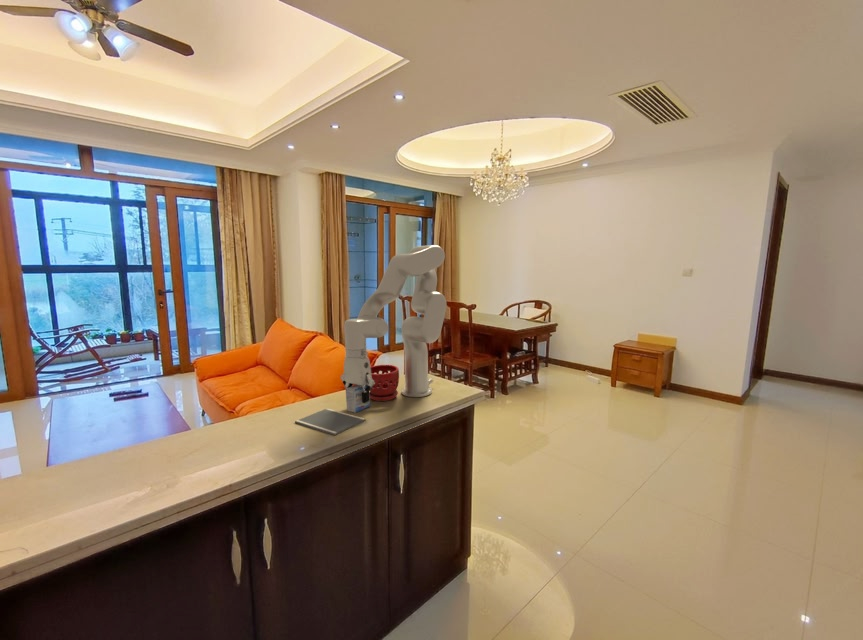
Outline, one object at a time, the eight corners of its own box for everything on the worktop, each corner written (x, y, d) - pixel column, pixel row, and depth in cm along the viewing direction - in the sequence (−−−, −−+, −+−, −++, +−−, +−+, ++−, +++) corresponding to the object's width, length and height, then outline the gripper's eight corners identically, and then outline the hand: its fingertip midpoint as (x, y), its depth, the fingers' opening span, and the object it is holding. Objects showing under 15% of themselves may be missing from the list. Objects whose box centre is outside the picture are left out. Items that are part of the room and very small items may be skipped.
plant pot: (364, 394, 160) (363, 366, 158) (395, 391, 163) (394, 363, 162) (369, 405, 147) (367, 374, 146) (402, 401, 151) (402, 371, 149)
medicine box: (355, 413, 139) (354, 389, 138) (346, 410, 142) (345, 387, 140) (370, 406, 146) (369, 384, 145) (361, 404, 148) (360, 382, 147)
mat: (327, 409, 143) (327, 408, 143) (365, 420, 132) (365, 418, 132) (295, 422, 131) (295, 420, 131) (334, 435, 121) (334, 433, 121)
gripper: (381, 353, 139) (382, 401, 142) (346, 348, 149) (348, 393, 151) (366, 358, 133) (368, 407, 135) (331, 352, 142) (333, 399, 145)
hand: (358, 399), depth 143 cm, fingers open, 7 cm apart
